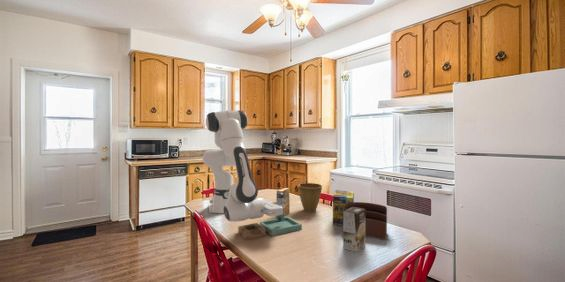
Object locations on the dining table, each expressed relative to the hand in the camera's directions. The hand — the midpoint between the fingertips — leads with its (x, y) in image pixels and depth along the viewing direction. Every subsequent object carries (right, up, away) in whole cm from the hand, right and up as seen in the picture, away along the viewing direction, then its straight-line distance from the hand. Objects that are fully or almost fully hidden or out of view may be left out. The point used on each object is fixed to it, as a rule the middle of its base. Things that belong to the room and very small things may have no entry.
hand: (281, 204), depth 134 cm
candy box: (+1, -12, +22) cm, 25 cm away
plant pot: (+18, -11, +30) cm, 37 cm away
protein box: (+34, -12, +10) cm, 37 cm away
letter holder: (+41, -13, -7) cm, 43 cm away
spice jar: (-1, -8, 0) cm, 8 cm away
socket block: (-15, -12, -8) cm, 21 cm away
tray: (-1, -12, 0) cm, 12 cm away
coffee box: (+31, -13, -22) cm, 40 cm away
